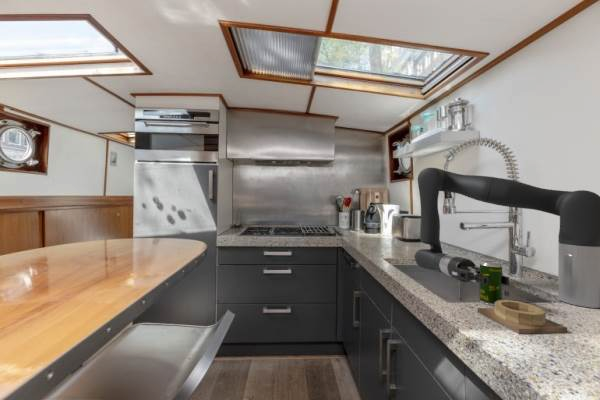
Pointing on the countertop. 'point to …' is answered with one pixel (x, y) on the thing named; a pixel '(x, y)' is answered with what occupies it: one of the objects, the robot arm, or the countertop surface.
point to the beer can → (491, 282)
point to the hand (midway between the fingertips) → (498, 281)
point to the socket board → (523, 327)
